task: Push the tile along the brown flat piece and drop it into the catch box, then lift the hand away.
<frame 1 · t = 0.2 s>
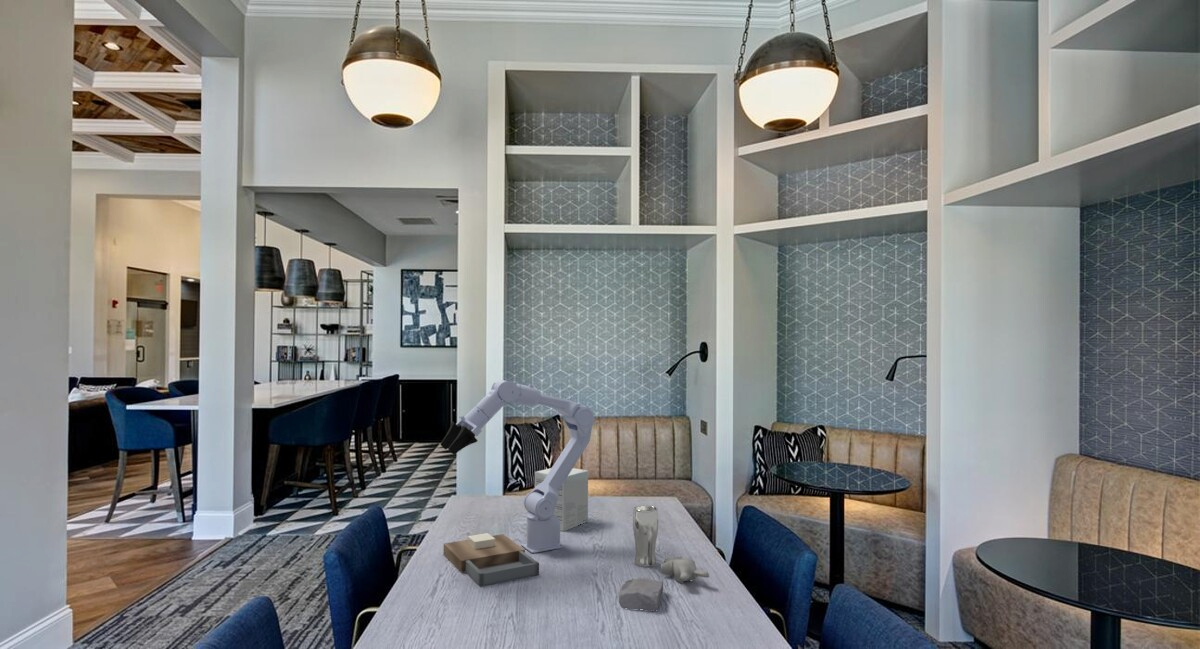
hand: (446, 449, 168), 31 cm above the table, tool tilted 45°, fingers open, 7 cm apart
supplement box: (561, 524, 205), on the table
catch box: (502, 573, 159), on the table
brown flat piece: (483, 557, 171), on the table
bunny figurine: (682, 580, 157), on the table
stone block: (640, 601, 144), on the table
tile: (481, 544, 173), point 3 cm above the table, touching brown flat piece
beer glass: (645, 564, 168), on the table
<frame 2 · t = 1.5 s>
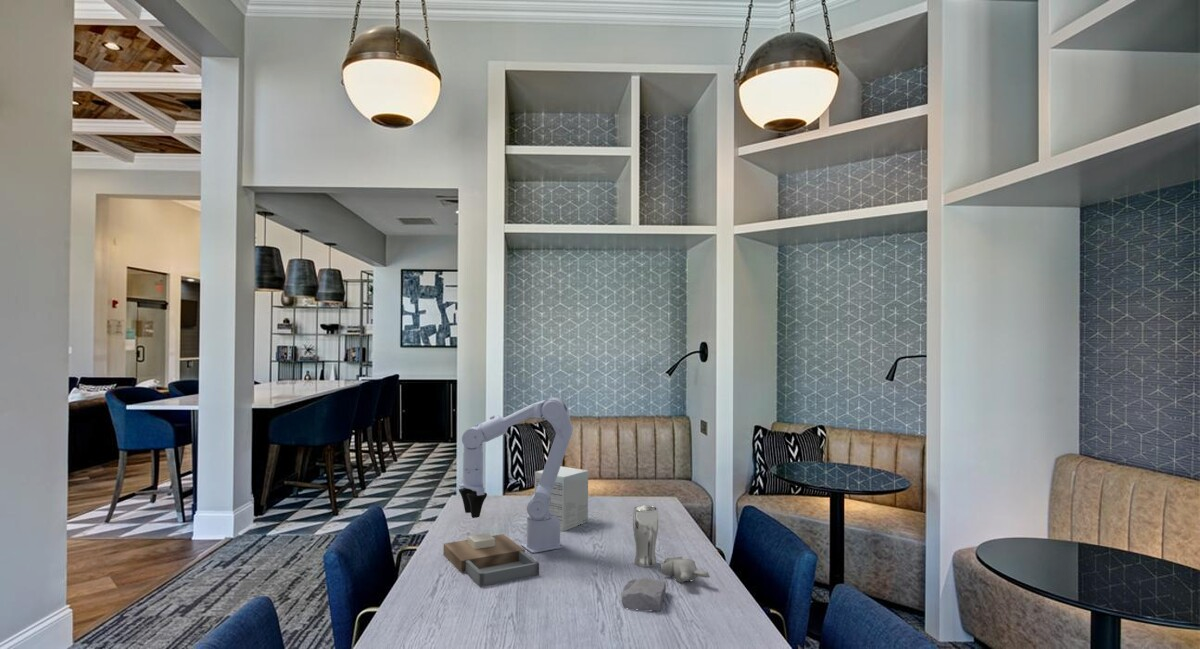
hand: (472, 514, 180), 9 cm above the table, tool pointing down, fingers open, 5 cm apart
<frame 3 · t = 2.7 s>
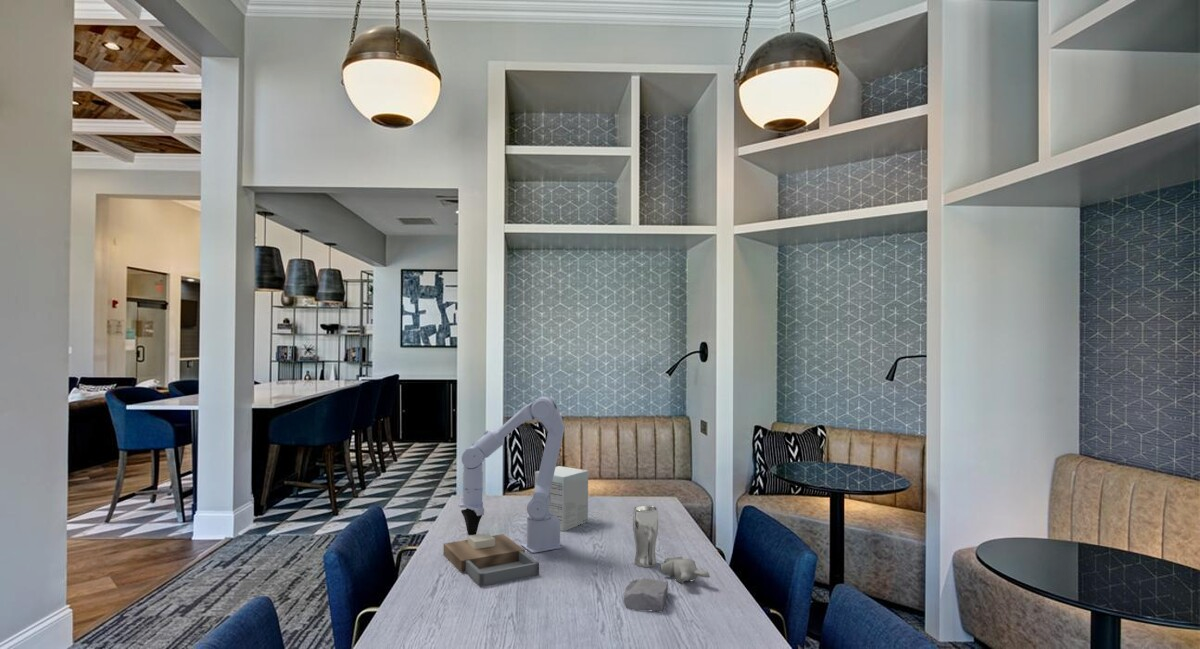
hand: (472, 534, 180), 4 cm above the table, tool pointing down, fingers closed
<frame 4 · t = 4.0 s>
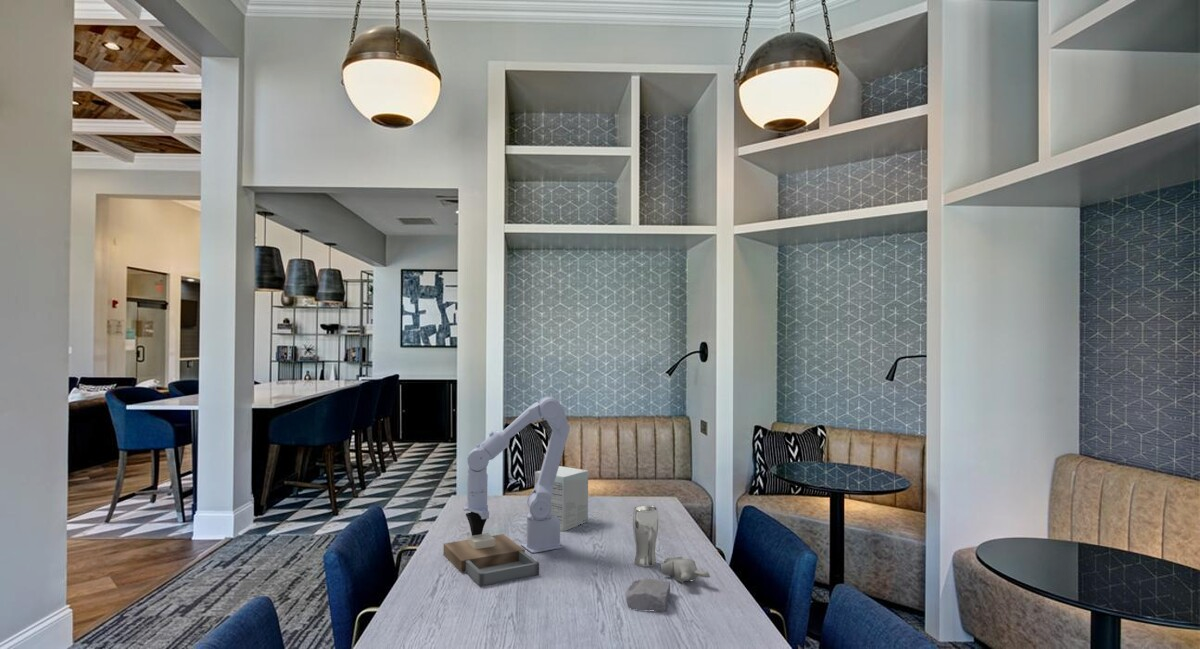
hand: (476, 538, 177), 4 cm above the table, tool pointing down, fingers closed
tile: (481, 544, 173), point 3 cm above the table, touching gripper, brown flat piece
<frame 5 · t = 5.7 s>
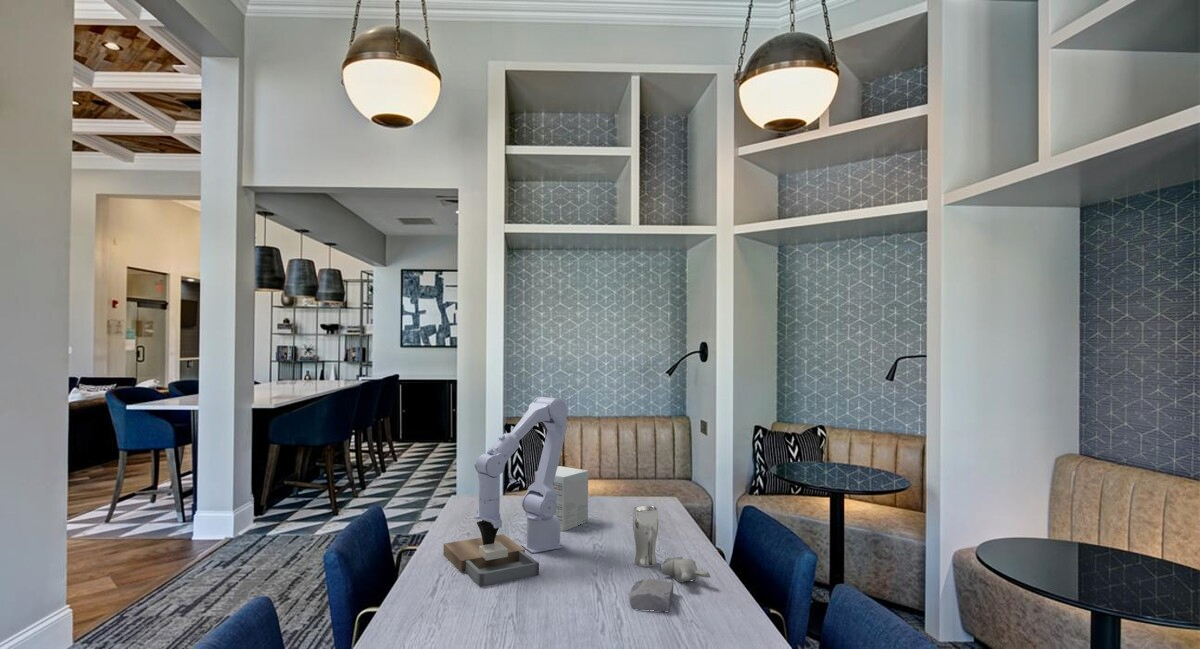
hand: (488, 547, 168), 4 cm above the table, tool pointing down, fingers closed
tile: (493, 555, 165), point 3 cm above the table, touching gripper, brown flat piece
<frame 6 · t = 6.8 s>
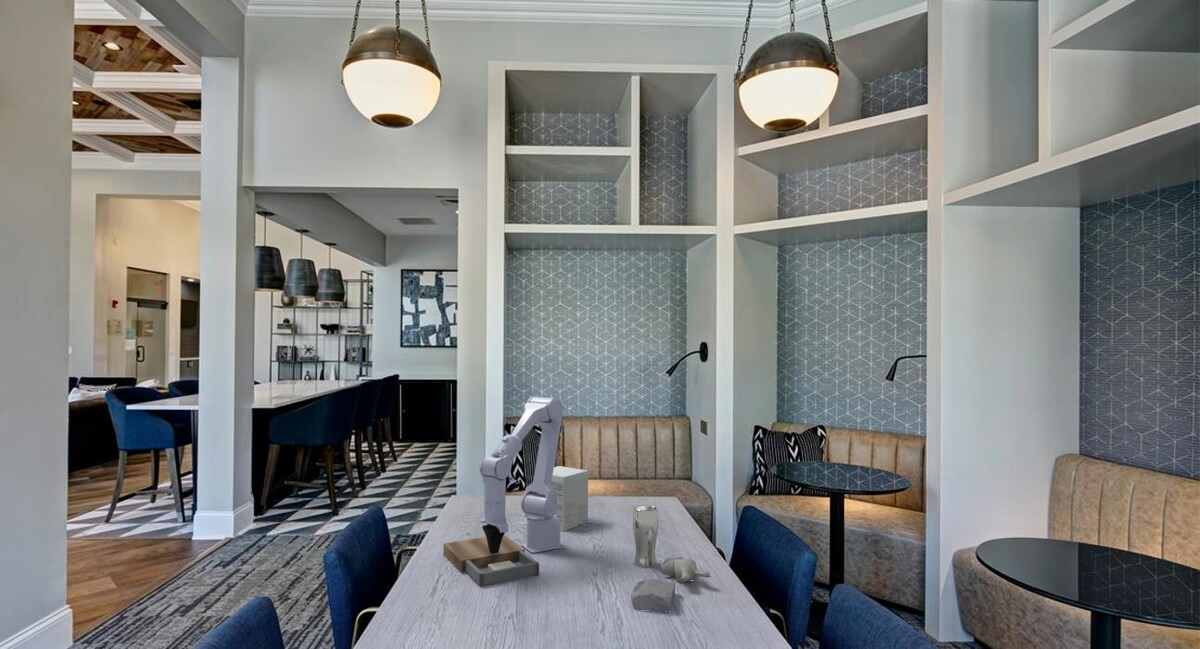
hand: (494, 552, 165), 4 cm above the table, tool pointing down, fingers closed
tile: (502, 566, 158), point 2 cm above the table, tilted 180°, touching catch box
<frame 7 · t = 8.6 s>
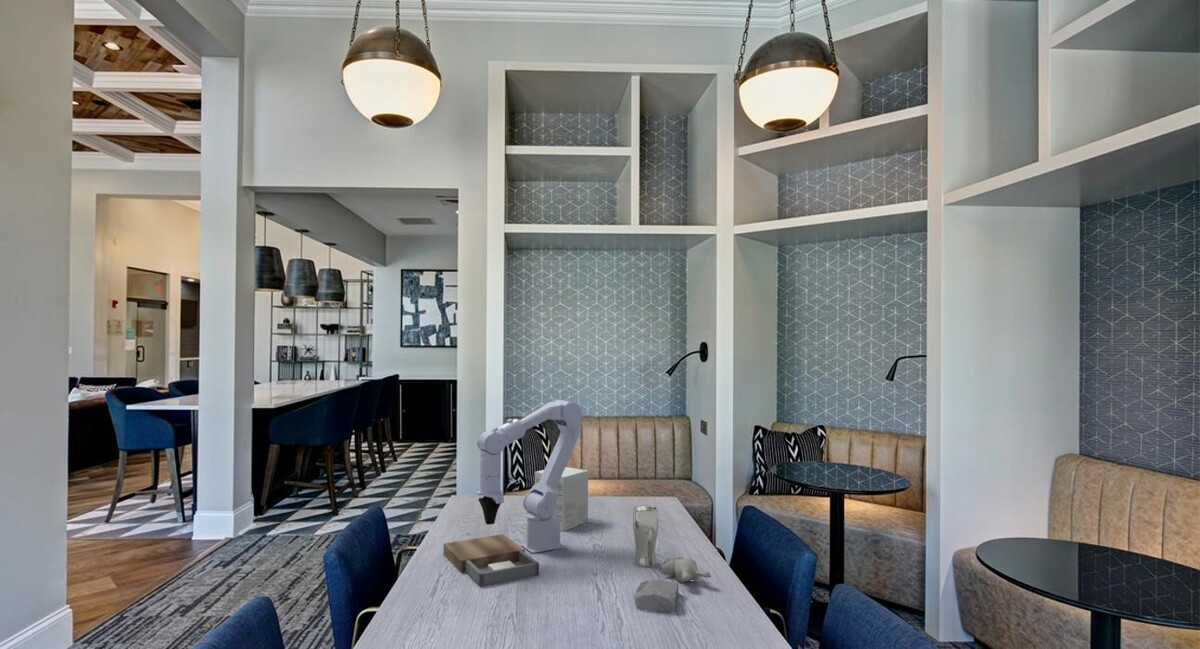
hand: (490, 523, 172), 9 cm above the table, tool pointing down, fingers closed
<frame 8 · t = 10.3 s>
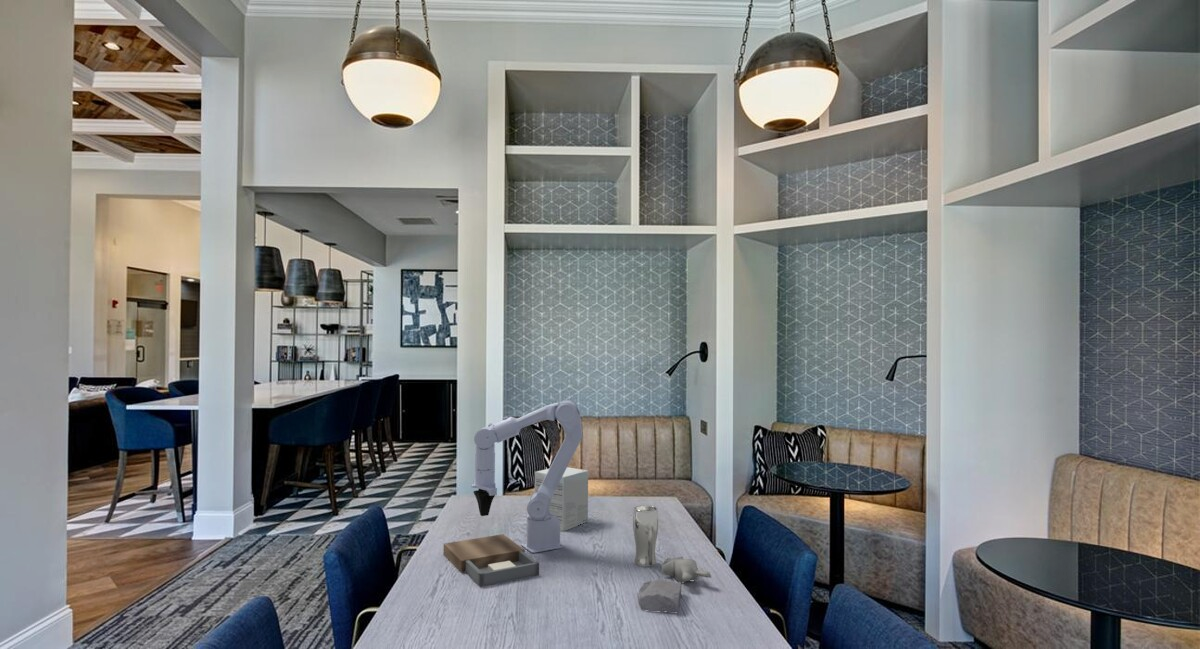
hand: (484, 515, 180), 9 cm above the table, tool pointing down, fingers closed
at the end: tile inside the target area (1.3 cm from its centre), point 2.4 cm above the table; tile touching catch box; tile moved 17.3 cm from its start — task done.
